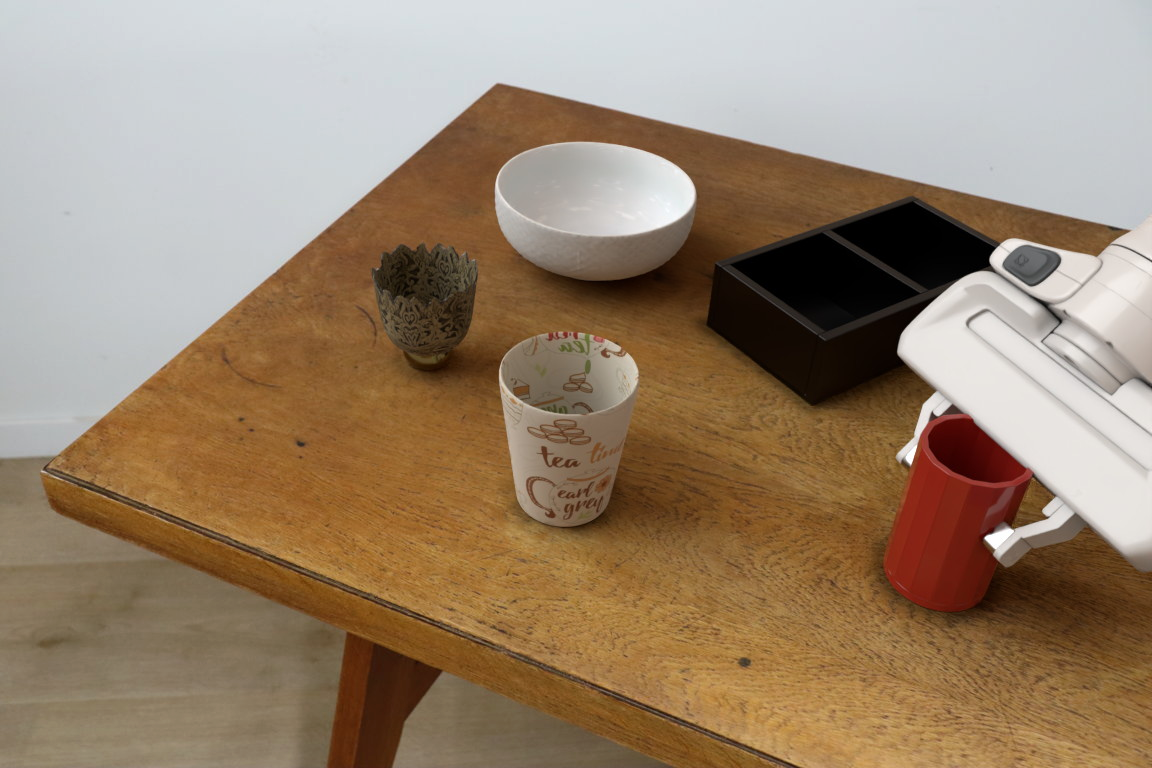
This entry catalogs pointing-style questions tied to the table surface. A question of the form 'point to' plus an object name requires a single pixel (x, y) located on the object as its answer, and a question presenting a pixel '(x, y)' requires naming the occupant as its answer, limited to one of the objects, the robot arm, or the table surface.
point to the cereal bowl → (594, 209)
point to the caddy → (842, 293)
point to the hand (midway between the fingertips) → (947, 510)
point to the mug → (566, 422)
